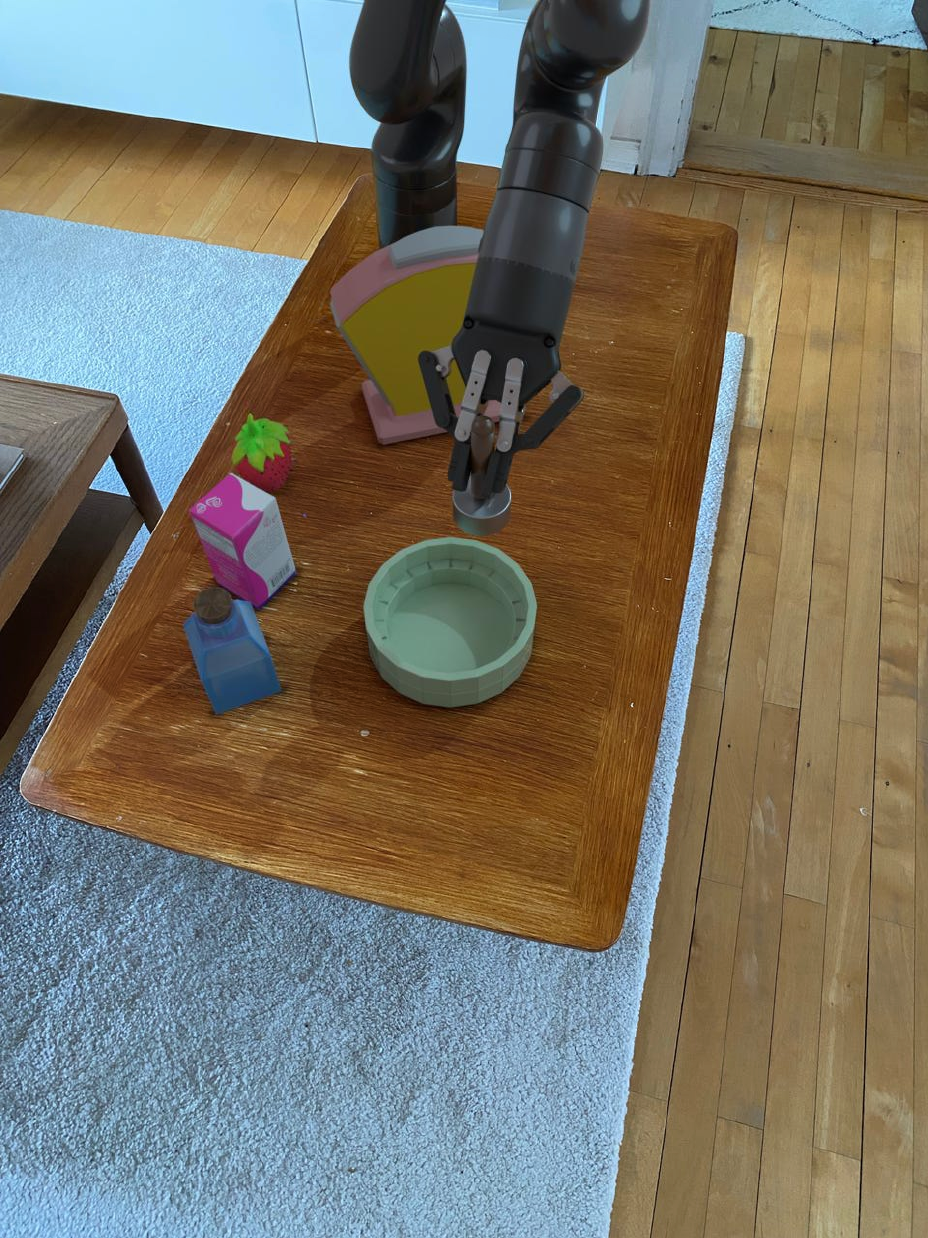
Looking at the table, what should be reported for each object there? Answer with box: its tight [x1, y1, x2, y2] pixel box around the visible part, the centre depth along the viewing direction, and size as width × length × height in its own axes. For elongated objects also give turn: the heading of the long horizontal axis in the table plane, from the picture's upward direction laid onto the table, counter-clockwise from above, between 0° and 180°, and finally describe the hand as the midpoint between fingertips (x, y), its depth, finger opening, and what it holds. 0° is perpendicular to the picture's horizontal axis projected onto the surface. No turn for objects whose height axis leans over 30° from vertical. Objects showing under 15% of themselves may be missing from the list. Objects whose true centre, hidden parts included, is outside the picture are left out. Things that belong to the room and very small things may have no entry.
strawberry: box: [230, 413, 292, 492], centre depth 99 cm, size 6×7×10 cm
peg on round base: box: [452, 415, 512, 537], centre depth 77 cm, size 5×5×11 cm
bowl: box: [362, 536, 538, 708], centre depth 90 cm, size 16×16×6 cm
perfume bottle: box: [182, 586, 282, 716], centre depth 85 cm, size 6×6×12 cm
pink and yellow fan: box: [329, 225, 526, 446], centre depth 101 cm, size 22×9×22 cm, turn 106°
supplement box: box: [188, 472, 297, 611], centre depth 92 cm, size 6×6×12 cm
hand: (473, 493), depth 76 cm, fingers closed on peg on round base
